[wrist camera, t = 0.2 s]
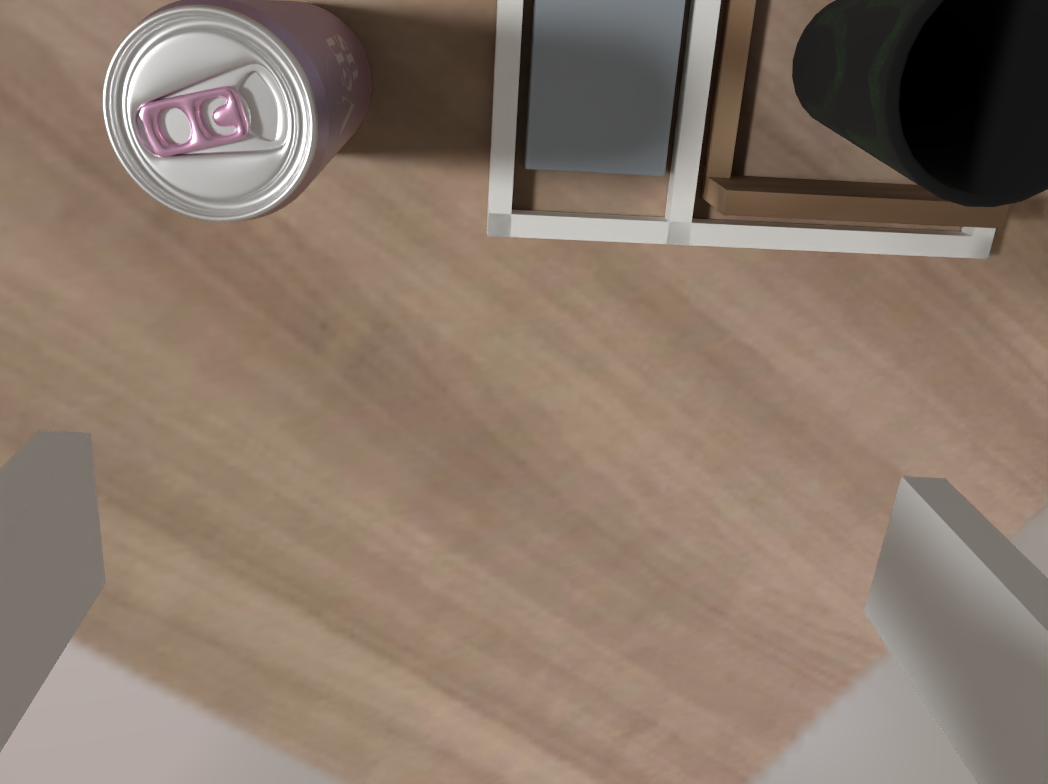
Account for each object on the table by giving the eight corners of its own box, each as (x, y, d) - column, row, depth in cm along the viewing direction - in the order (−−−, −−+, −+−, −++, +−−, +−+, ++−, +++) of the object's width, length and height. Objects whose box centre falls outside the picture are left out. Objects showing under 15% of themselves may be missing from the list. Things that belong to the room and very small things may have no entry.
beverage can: (208, 18, 37) (56, 23, 23) (352, -13, 37) (286, -26, 23) (254, 165, 39) (141, 250, 25) (389, 136, 39) (350, 205, 25)
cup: (962, -31, 38) (1166, -48, 27) (924, 156, 41) (1094, 210, 30) (781, -40, 37) (914, -60, 26) (756, 151, 40) (867, 204, 29)
